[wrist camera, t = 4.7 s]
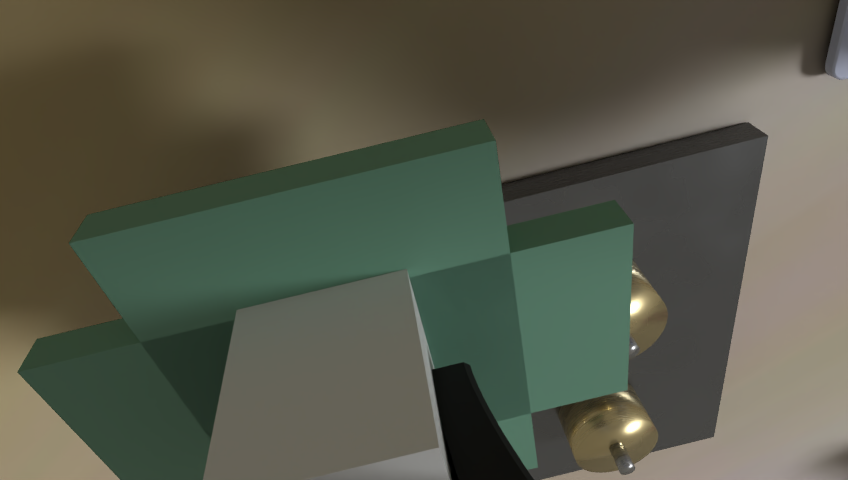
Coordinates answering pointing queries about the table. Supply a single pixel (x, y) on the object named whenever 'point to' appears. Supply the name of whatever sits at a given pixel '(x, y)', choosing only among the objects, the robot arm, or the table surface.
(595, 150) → the table surface
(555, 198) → the chassis
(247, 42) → the table surface
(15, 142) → the table surface
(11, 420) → the table surface
